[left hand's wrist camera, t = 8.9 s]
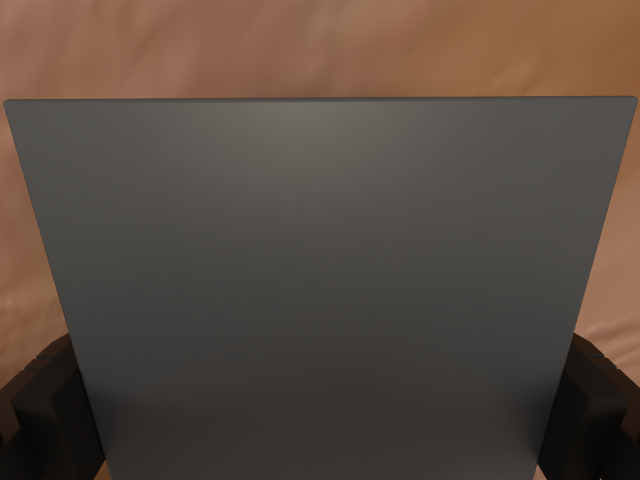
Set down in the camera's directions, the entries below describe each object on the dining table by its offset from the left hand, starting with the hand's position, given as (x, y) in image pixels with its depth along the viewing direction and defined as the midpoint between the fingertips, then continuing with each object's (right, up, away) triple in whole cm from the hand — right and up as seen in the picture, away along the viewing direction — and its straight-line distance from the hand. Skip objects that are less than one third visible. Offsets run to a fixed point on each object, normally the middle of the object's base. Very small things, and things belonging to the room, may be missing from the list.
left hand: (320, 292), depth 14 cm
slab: (0, -31, +12) cm, 33 cm away
